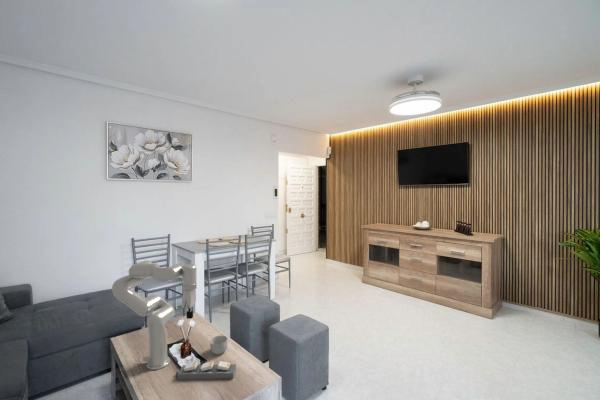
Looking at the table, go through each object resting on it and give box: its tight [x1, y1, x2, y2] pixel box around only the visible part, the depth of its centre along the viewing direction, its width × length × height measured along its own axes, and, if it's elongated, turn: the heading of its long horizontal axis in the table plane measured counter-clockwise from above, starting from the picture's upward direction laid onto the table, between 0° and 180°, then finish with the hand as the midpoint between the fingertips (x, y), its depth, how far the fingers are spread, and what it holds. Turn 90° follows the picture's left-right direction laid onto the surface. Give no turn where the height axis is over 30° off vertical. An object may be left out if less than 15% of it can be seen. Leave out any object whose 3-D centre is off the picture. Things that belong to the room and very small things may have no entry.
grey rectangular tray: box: [176, 363, 237, 381], centre depth 159 cm, size 32×8×4 cm, turn 92°
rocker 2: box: [201, 360, 215, 371], centre depth 159 cm, size 6×4×2 cm
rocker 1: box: [184, 361, 199, 371], centre depth 158 cm, size 6×4×2 cm
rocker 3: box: [217, 360, 231, 370], centre depth 159 cm, size 6×4×2 cm
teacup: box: [209, 333, 228, 355], centre depth 183 cm, size 14×11×8 cm
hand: (189, 317), depth 164 cm, fingers closed
